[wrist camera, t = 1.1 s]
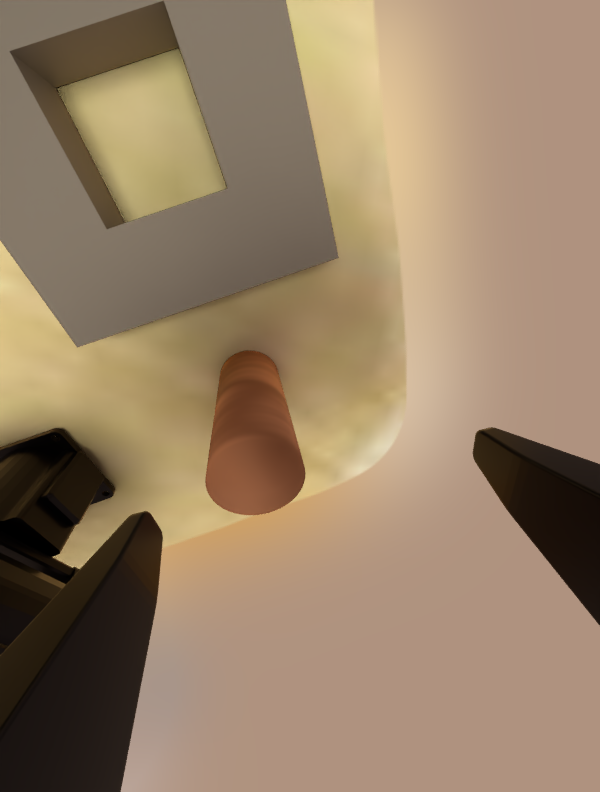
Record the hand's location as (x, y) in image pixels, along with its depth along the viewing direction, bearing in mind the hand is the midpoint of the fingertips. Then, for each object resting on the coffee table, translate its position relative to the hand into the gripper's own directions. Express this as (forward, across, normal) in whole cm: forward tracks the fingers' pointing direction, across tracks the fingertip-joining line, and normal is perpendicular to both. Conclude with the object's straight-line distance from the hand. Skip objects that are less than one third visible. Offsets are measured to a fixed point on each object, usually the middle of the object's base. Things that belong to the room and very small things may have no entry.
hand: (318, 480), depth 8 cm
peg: (+13, +2, +3) cm, 14 cm away
